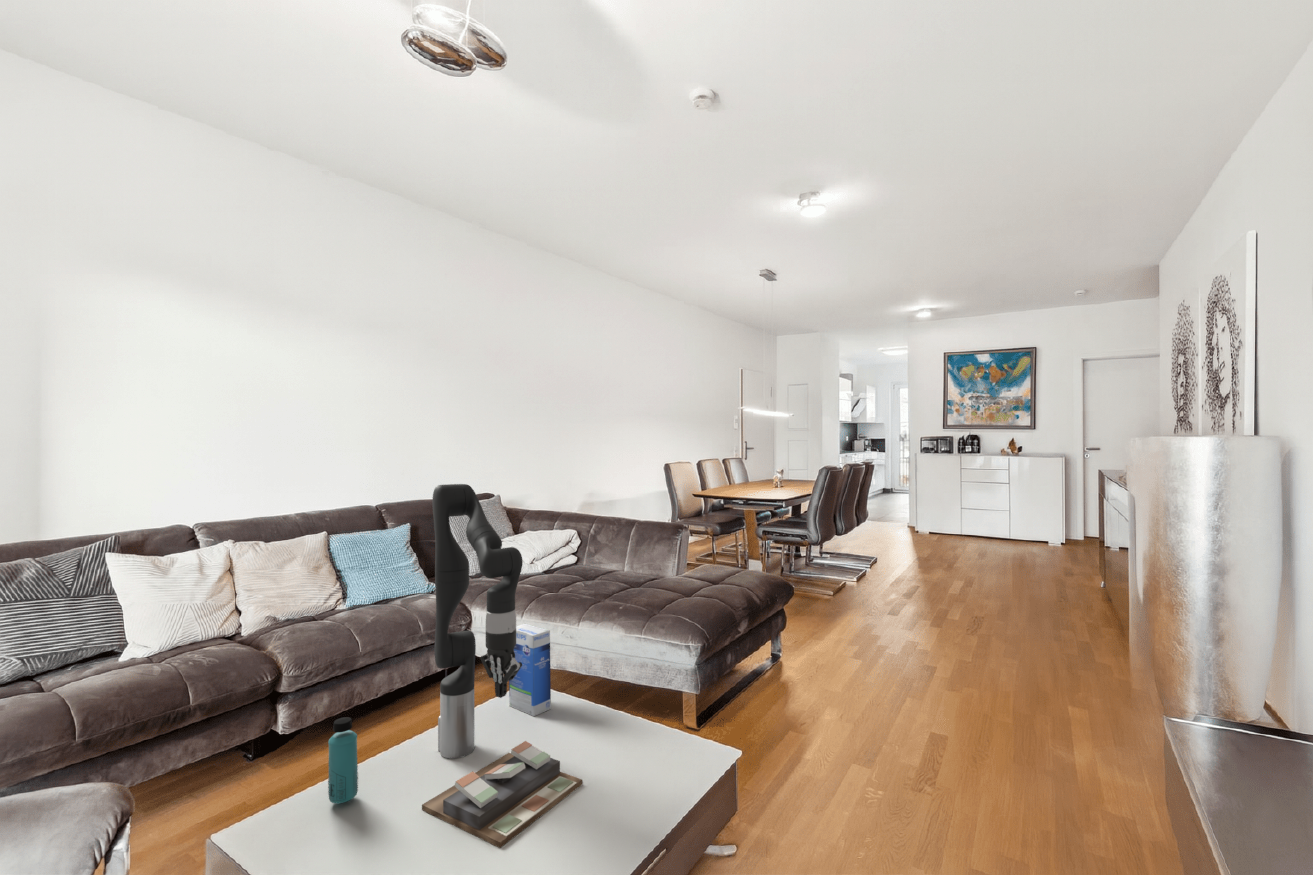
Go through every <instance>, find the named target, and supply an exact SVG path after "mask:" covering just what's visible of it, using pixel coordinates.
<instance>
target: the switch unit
mask: <svg viewBox="0 0 1313 875" xmlns="http://www.w3.org/2000/svg"><path fill="white" fill-rule="evenodd" d="M522 762H523V761H522V760H520V759H519V758H517V757H515V756H514V755H512V754H511V752H507V753H506V754H503V755H502V756H500V757H499V758H497V759H495V760H494V761H492V762H490V763H489V764H488V765H485V766H484V767H482V768H480V769H479V770H477V771H474V773H476V774H477V775H478V776H479V777H480V778H481V779H482V780H483V781H485V782H486V783H487V784H488V785H489V786H492V787H493V788H494V789H495V790H496V791H498V795H497V798H495V799H494V800H492V801H491V802H489V803H488V804H486V805H485V806H483V807H482V808H480V807H478V806H477V805H476V804H475V803H474V802H472V801H471V800H470V799H469V798H468V797H467V796H465V795H464V794H463V793H462V792H461V791H460V790H458V789H457V788H456V787H455V784H454V785H453V786H451V787H449V788H447V789H445V790H444V791H443V792H441V793H439V794H437V795H436V796H433V798H431V799H429V800H427V801H426V802H424V803H422V804H421V810H422V811H423V812H425V813H428V814H430V815H432V816H433V817H436V818H437V819H439V820H442V821H444V822H446V823H447V824H450V825H452V826H453V827H456V828H458V829H460V830H463V831H465V832H466V833H469V834H470V835H472V836H474V837H476V838H478V839H480V840H483V841H484V842H487V843H489V844H491V845H493V846H495V847H497V848H499V849H501V848H502V847H504V846H505V845H506V844H508V843H509V842H510V841H511V840H512V839H514V838H516V837H517V835H519V834H520V833H522V832H523V831H524V830H526V829H527V828H528V827H530V826H531V825H532V824H533V823H535V821H537V820H539V819H540V818H541V817H542V816H544V815H545V814H547V813H548V811H550V810H551V809H552V808H554V807H555V806H557V805H558V804H559V803H560V802H562V801H563V800H564V799H565V798H567V797H568V796H569V795H571V794H572V793H573V792H575V791H576V790H577V789H578V788H579V787H581V786H582V785H583V779H582V778H578V777H577V776H574V775H571V774H568V773H565V772H564V771H561V761H560V760H558V759H555V758H552V757H550V761H548V762H547V763H545V764H544V765H542V766H541V767H539V768H538V769H535V768H533V767H532V766H530V765H528V764H527V763H525V762H524V764H525V769H523V770H522V771H520V772H519V773H517V774H516V775H514V776H512V777H511V778H500V779H487V780H485V775H484V774H485V773H487V772H488V771H490V770H492V769H493V768H495V767H496V766H498V765H500V764H506V765H507V764H516V763H522Z"/></svg>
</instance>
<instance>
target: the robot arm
mask: <svg viewBox="0 0 1313 875" xmlns="http://www.w3.org/2000/svg"><path fill="white" fill-rule="evenodd" d="M431 500H432V515H433V516H432V517H433V529H434V538H435V540H434V542H435V544H434V545H435V546H434V548H435V555H434V556H435V557H434V561H435V562H434V565H435V566H434V572H435V573H434V587H435V588H434V590H435V610H436V612H435V628H434V629H435V630H434V631H435V632H434V649H433V650H434V651H433V652H434V663H435V665H436V667H437V668H439V669H447V668H454V667H455V668H456V667H458V669H456V670H455V671H453V672H452V673H450V674H449V675H447V676H445V677H444V678H443V679H442V680H441V681H440V683H439V689H440V690H439V692H440V694H439V703H440V704H439V710H440V711H439V712H440V714H439V716H437V717H438V718H437V741H438V742H437V751H438V752H440V753H439V754H440V756H441V757H443V758H445V759H458V758H462V757H463V758H464V757H465V756H469V754H471V753H473V751H475V748H476V747H475V729H476V728H475V726H476V725H475V679H476V677H475V665H476V653H477V652H476V648H477V647H476V646H477V645H476V637H475V634H474V633H473V631H472V630H461V631H455V632H449V628H450V623H451V622H452V621H451V620H452V618H453V616H454V614H455V611H456V609H458V606H459V604H460V603H461V601H462V599H463V598H464V597H465V594H467V590H468V588H469V586H470V562H469V559H468V557H467V555H466V553H465V552H464V550H463V549H462V547H461V545H460V544H459V543H458V541H457V540H456V539H455V537H454V535H453V531H452V529H451V524H450V518H452V517H461V516H467V517H468V518H469V520H468V523H467V525H466V529H465V535H466V539H467V541H468V543H469V545H470V546H471V547H472V548H473V550H474V552H475V554H476V558H477V560H478V566H479V571H480V573H481V575H482V576H484V577H485V578H487V579H496V578H501V581H500V582H498V583H497V584H495V585H493V586H491V587H489V588H488V589H487V591H486V614H485V648H486V649H487V650H486V653H485V654H483V655H481V656H480V661H481V664H482V665H483V667H484V669H485V672H486V674H487V676H488V678H489V679H493V682H494V693H495V697H496V698H500V699H502V698H503V697H506V695H507V693H508V683H509V681H510V680H512V679H513V678H514V677H515V676H516V674H517V673H518V671H519V670H520V668H521V667H522V663H521V662H519V663H518V662H517V661H516V659H515V653H514V647H515V645H516V626H517V614H516V612H517V611H516V592H517V588H518V583H519V579H520V576H521V573H522V568H523V562H524V561H523V556H522V553H521V551H520V549H518V548H516V547H512V546H511V547H510V546H509V547H503V540H502V538H501V537H500V535H499V534H498V533H497V532H496V530H495V529H494V528H493V526H492V524H490V522H489V520H488V519H487V516H486V513H485V511H484V509H483V507H482V505H481V502H480V500H479V498H478V496H477V494H476V492H475V491H474V489H473V488H472V487H471V486H470V485H469V484H467V483H466V484H465V483H454V484H452V483H451V484H438V485H436V486H435V487H434V489H433V493H432V499H431Z"/></svg>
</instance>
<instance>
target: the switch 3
mask: <svg viewBox="0 0 1313 875" xmlns="http://www.w3.org/2000/svg"><path fill="white" fill-rule="evenodd" d="M510 753H511V754H512V755H514V756H515V757H517V758H519V759H520V760H522V761H523V762H525V763H527V764H528V765H530V766H532V767H533V768H535V769H538V768H539V767H541V766H542V765H544V764H545V763H547V762H548V761H550V758H551V754H549V753H547V752H545V751H543V750H542V749H539V748H538V747H536V746H534V745H533V744H532V743H530V742H528V741H527V740H525V741H522V742H521V743H519V744H518V745H516V746H514V747H513V748H511V751H510Z"/></svg>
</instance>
